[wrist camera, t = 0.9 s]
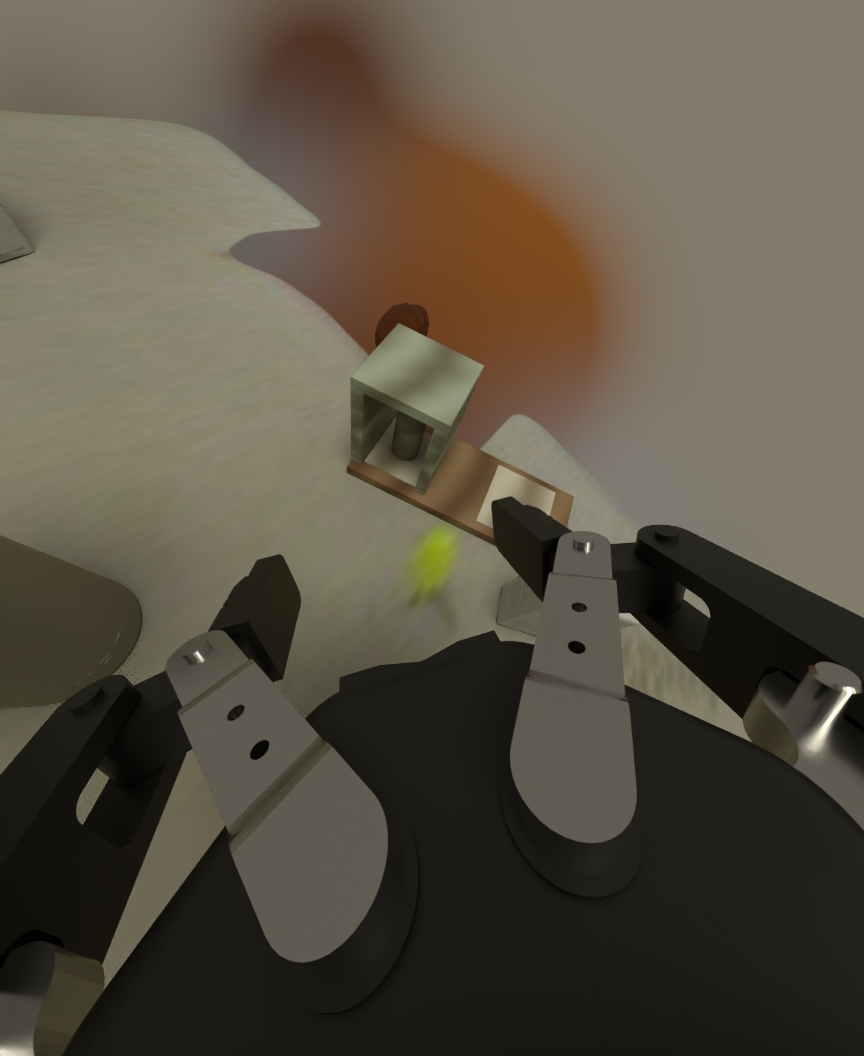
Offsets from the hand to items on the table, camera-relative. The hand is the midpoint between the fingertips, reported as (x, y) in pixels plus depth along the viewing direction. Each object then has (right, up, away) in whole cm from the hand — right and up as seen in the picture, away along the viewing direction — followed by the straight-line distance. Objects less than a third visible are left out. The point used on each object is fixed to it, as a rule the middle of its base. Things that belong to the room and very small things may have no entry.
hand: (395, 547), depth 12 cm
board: (+6, +6, +26) cm, 27 cm away
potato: (-3, +26, +34) cm, 43 cm away
